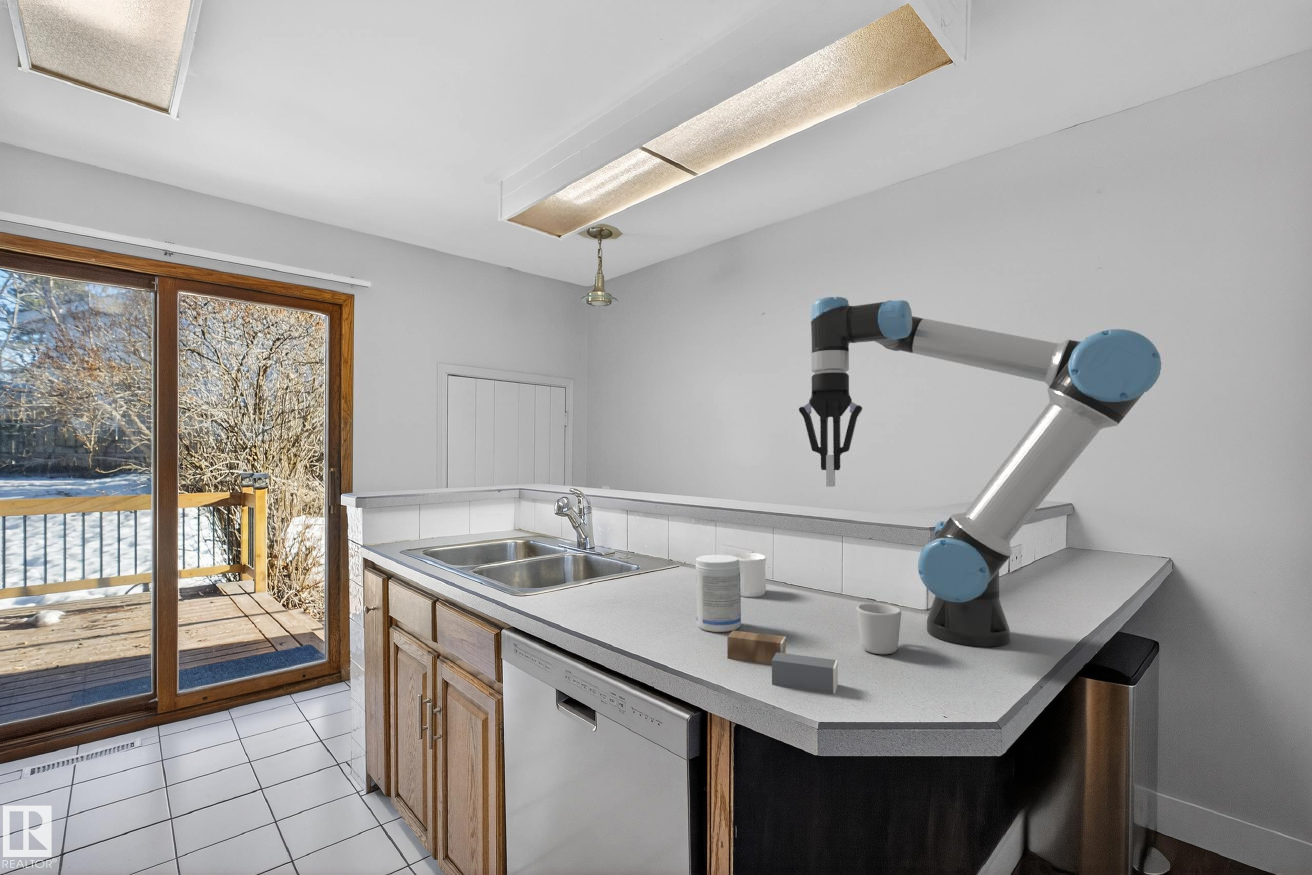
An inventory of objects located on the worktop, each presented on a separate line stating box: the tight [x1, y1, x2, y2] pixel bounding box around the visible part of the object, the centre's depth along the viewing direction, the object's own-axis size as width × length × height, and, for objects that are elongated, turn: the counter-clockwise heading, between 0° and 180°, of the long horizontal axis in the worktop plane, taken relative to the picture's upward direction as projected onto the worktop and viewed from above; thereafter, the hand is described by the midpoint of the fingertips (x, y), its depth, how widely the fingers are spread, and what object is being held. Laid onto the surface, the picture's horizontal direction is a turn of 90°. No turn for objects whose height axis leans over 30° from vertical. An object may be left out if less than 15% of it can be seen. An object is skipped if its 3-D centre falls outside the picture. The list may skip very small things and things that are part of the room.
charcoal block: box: [771, 652, 839, 695], centre depth 100 cm, size 4×4×10 cm
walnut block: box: [726, 630, 787, 665], centre depth 112 cm, size 4×4×10 cm
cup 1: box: [731, 552, 767, 598], centre depth 160 cm, size 10×10×10 cm
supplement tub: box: [695, 554, 742, 633], centre depth 131 cm, size 10×10×15 cm
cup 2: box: [856, 602, 902, 655], centre depth 117 cm, size 11×8×8 cm
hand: (830, 486), depth 127 cm, fingers closed
